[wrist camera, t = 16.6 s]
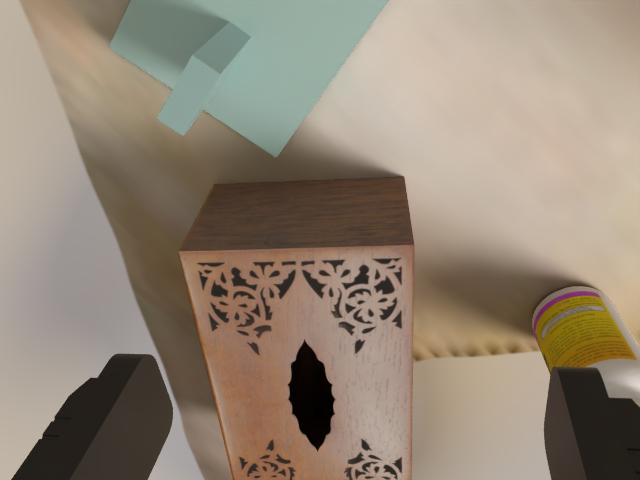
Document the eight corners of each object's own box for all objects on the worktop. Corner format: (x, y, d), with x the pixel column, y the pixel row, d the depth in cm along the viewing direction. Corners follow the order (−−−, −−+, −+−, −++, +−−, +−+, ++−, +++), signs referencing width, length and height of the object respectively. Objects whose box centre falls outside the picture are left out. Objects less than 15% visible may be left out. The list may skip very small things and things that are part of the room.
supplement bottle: (512, 318, 48) (557, 443, 37) (575, 268, 45) (644, 387, 34) (566, 357, 49) (625, 486, 38) (630, 311, 47) (712, 437, 36)
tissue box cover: (403, 416, 55) (411, 510, 46) (258, 416, 56) (239, 507, 48) (403, 175, 42) (414, 244, 33) (214, 182, 43) (178, 251, 35)
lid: (247, -226, 30) (195, -282, 21) (432, -68, 33) (458, -57, 24) (118, 41, 38) (40, 85, 29) (279, 148, 41) (255, 219, 32)
